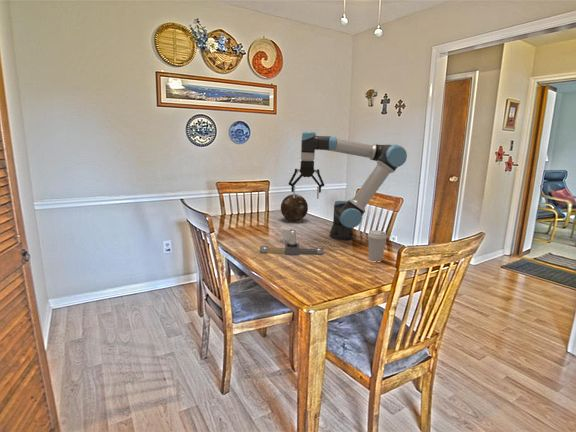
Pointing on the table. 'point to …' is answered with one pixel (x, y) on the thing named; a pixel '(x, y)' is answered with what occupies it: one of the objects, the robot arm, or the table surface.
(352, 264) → the table surface
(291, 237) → the link pin
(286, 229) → the cup
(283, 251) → the grey knobbed bar
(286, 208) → the decorative sphere
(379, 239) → the coffee cup
